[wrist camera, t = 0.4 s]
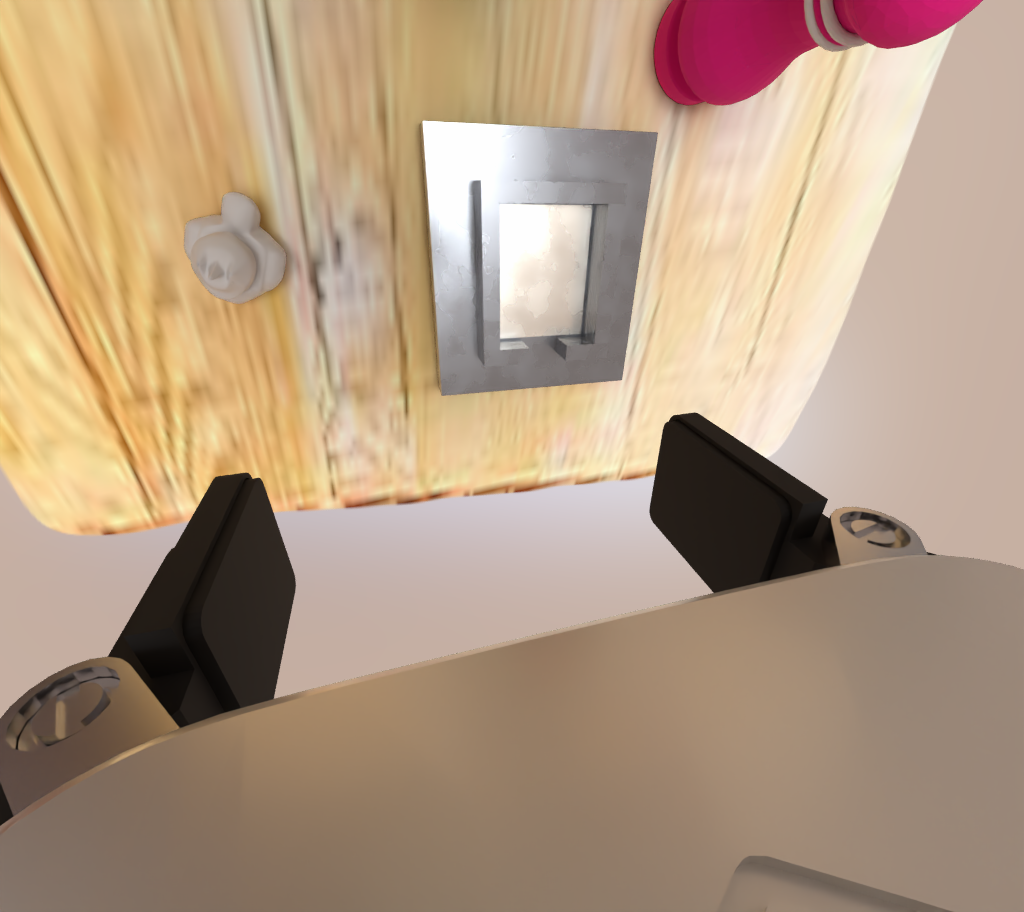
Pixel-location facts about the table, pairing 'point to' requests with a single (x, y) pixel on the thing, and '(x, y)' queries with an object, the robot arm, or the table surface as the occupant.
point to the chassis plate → (533, 251)
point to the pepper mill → (778, 38)
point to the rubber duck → (234, 251)
